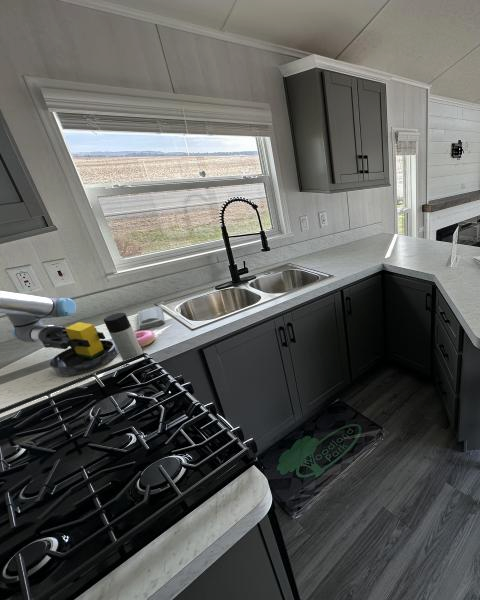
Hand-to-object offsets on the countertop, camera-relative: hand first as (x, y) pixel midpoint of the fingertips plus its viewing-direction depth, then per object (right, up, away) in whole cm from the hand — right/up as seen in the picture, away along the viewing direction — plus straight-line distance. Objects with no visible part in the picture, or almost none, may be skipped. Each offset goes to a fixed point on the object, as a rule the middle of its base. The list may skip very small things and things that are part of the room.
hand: (95, 339), depth 127 cm
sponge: (-6, -6, +4) cm, 10 cm away
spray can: (+15, -9, +1) cm, 17 cm away
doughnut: (+7, -3, +13) cm, 15 cm away
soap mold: (-4, +6, +33) cm, 34 cm away
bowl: (-5, -9, +2) cm, 10 cm away
